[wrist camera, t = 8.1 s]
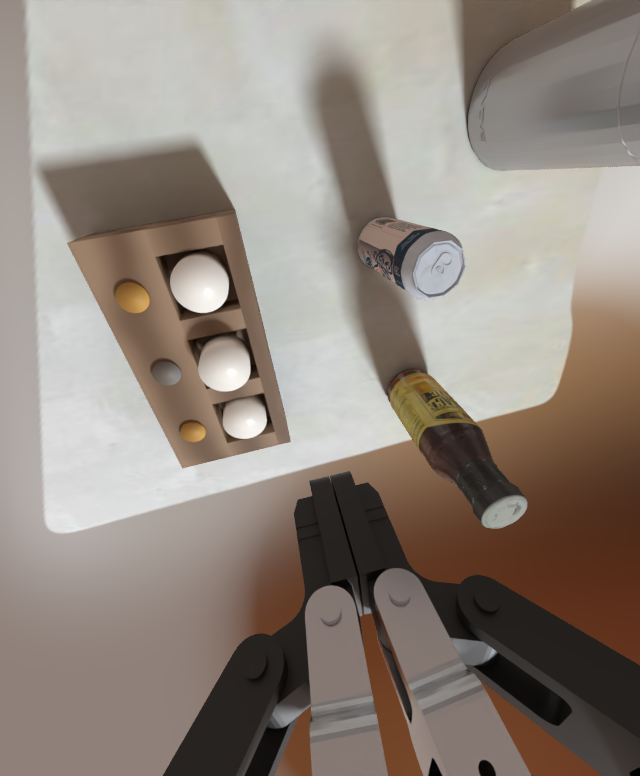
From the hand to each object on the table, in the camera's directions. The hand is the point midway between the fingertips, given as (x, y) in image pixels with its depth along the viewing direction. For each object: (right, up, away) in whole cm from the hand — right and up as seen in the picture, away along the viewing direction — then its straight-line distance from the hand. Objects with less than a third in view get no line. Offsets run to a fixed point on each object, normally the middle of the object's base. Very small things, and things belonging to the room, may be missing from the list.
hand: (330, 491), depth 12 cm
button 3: (-9, +2, +25) cm, 26 cm away
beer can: (+5, +18, +21) cm, 29 cm away
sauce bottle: (+11, +4, +31) cm, 33 cm away
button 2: (-9, +7, +20) cm, 23 cm away
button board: (-12, +8, +23) cm, 27 cm away
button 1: (-11, +13, +17) cm, 24 cm away
